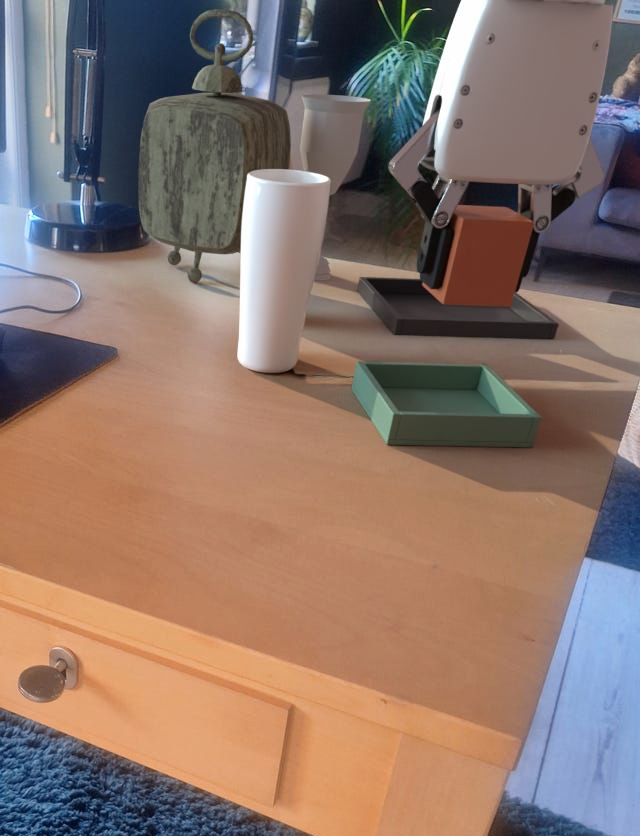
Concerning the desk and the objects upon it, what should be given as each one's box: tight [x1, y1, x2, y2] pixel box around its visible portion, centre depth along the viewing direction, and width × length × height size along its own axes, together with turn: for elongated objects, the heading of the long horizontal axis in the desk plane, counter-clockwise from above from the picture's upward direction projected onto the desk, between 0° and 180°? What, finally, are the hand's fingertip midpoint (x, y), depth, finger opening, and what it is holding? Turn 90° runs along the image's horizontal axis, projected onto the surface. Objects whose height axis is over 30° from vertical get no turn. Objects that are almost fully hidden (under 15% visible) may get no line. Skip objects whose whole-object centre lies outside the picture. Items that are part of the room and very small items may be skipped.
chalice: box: [299, 93, 371, 281], centre depth 97 cm, size 7×7×18 cm
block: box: [422, 204, 534, 307], centre depth 62 cm, size 5×5×6 cm
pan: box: [356, 276, 559, 341], centre depth 91 cm, size 16×15×2 cm
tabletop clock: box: [137, 8, 292, 284], centre depth 92 cm, size 14×9×25 cm, turn 59°
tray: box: [351, 360, 542, 448], centre depth 69 cm, size 11×11×2 cm
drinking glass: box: [236, 169, 331, 374], centre depth 73 cm, size 7×7×15 cm
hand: (468, 283), depth 63 cm, fingers closed on block, 5 cm apart
